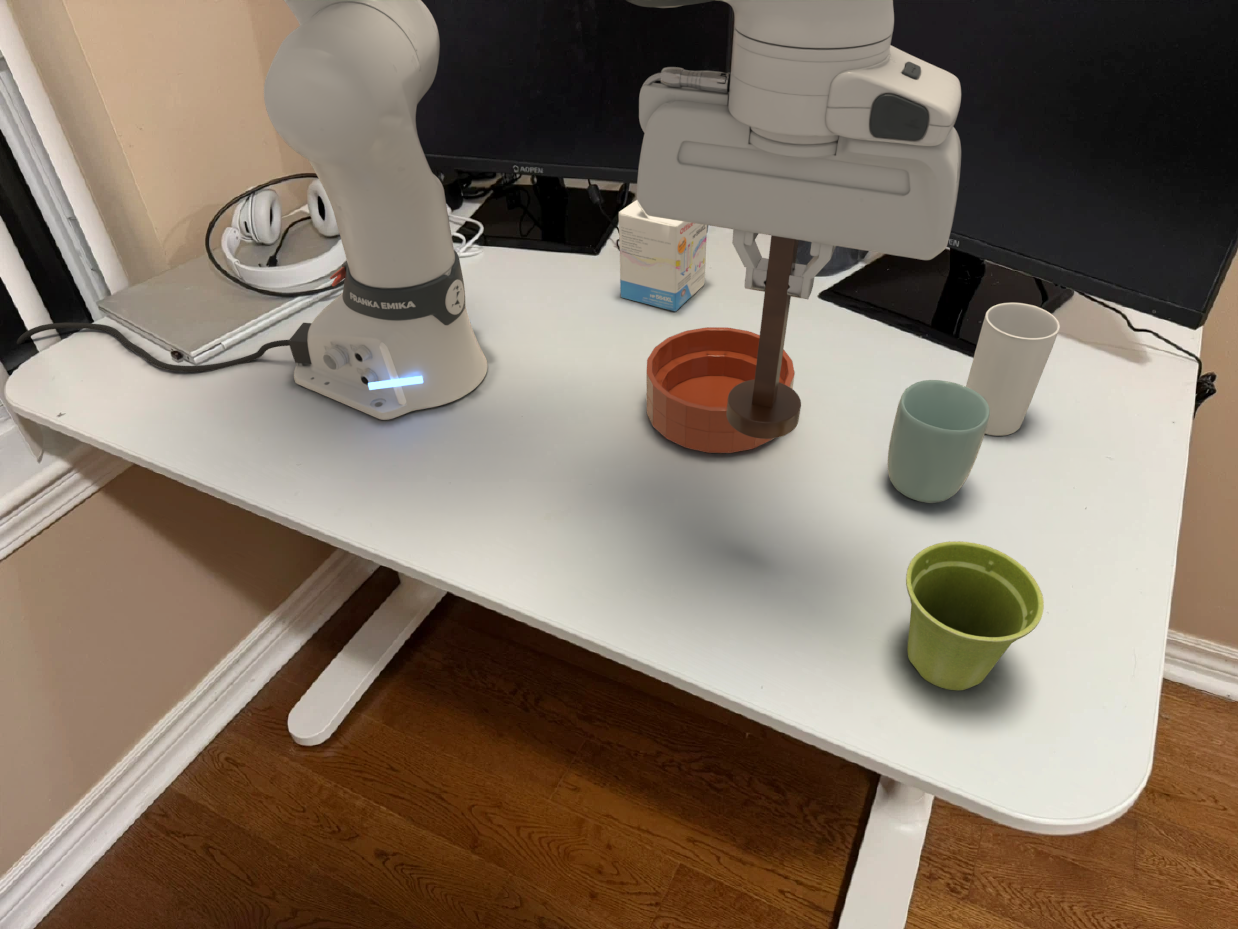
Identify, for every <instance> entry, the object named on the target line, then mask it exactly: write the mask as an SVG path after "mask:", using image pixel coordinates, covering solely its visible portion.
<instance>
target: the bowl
mask: <svg viewBox="0 0 1238 929" xmlns="http://www.w3.org/2000/svg"><path fill="white" fill-rule="evenodd" d="M759 337H760V334H758V333H755V332H753V331H749V330H743V329H740V328H739V329H738V328H733V327H726V326H725V327H717V326H716V327H715V326H713V327H711V326H709V327H707V326H706V327H699V328H694V329H690V330H684V331H681V332H679V333H676V334H674V335H671V336H669V337H667V338H666V339H664V340H663V341H661V342H660V343H659V344H657V345H655V347H653V349H652V351H651V353H650V354H649V356H648V357H647V358H646V372H645V373H646V374H645V375H646V377H645V378H646V382H645V383H646V415H647V417H648V419H649V421H650V423H651V425H652V427H653V428H654V429H655V430H656V431H657V432H658V433H660V434H661V436H663V437H664V438H665V439H666V440H669V441H671V442H673V443H675V444H677V445H679V446H681V447H683V448H686V449H689V450H693V451H699V452H703V453H708V454H709V453H714V454H725V453H726V454H732V453H733V454H734V453H739V452H744V451H748V450H749V451H750V450H753V449H756V448H758V447H760V446H762V445H764V444H766V443H769V442H772V441H773V440H774V439H775V438H772V439H761V438H754V437H750V436H747V435H744V434H742V433H740V432H739V431H737V430H736V429H734V428H733V427H732V426H731V425H730V423H729V421H728V419H727V416H726V412H727V401H728V395H729V393H730V391H731V390H732V389H733V388H734V387H735V386H736V385H738V384H740V383H742V382H745V381H749V380H755V371H756V363H757V354H758V346H759ZM795 375H796V374H795V367H794V362H793V359H792V358H791V357H790V356H789V354H788V353H787V351H786V350H785V349H783V356H782V363H781V370H780V377H779V382H780V383H782V384H785V385H787V386H788V387H790V388H791V389H793V388H794V381H795ZM793 390H794V389H793Z"/></svg>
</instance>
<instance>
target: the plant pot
mask: <svg viewBox="0 0 1238 929" xmlns="http://www.w3.org/2000/svg"><path fill="white" fill-rule="evenodd" d="M1033 576H1034V575H1032V574H1031V573H1030V571H1028V570H1027V569H1026V568H1025V566H1024V565H1022V564H1021V563H1020V562H1019V561H1017V560H1016V559H1014V558H1013V557H1011V556H1010V555H1008V554H1006V553H1004V552H1003V551H1000V550H998V549H995V548H993V547H991V546H988V545H985V544H981V543H975V542H970V541H961V540H958V541H957V540H955V541H942V542H938V543H935V544H931V545H929V546H926V547H925V548H924V549H922V550H921V551H919V552H918V553H916V555H915V556H913V557H912V558H911V560H910V561H909V564H908V566H907V568H906V575H905V585H906V590H907V594H908V597H909V600H910V614H909V615H910V616H909V628H908V636H907V637H908V638H907V647H906V648H907V658H908V660H909V662H910V663H911V664H912V666H913V667H914V668H915V669H916V671H917V672H918V674H919V675H920V676H921V677H922V678H923V679H924V680H925V681H926V682H928V683H930V684H932V685H934V686H936V687H938V688H941V689H944V690H950V691H965V690H968V689H970V688H972V687H975V686H977V685H979V684H981V683H982V682H983V681H984V680H985V679H986V677H987V676H988V675H989V674H990V672H991V671H992V670H993V668H995V666H996V664H997V663H998V662H999V661H1000V660H1001V658H1002V657H1003V655H1004V654H1005V652H1006V651H1007V650H1008V649H1009V648H1010V647H1011V645H1012V644H1013V643H1015V642H1016V641H1018V640H1020V639H1022V638H1025V637H1026V636H1028V635H1029V634H1031V633H1032V632H1033V631H1034V630H1035V629H1036V628H1037V626H1038V625H1039V624H1040V622H1041V620H1042V617H1043V614H1044V609H1045V601H1044V596H1043V593H1042V589H1041V588H1040V585H1039V584H1038V582H1037V580H1036V579H1035V578H1034V577H1033Z"/></svg>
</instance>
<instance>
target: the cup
mask: <svg viewBox="0 0 1238 929" xmlns="http://www.w3.org/2000/svg"><path fill="white" fill-rule="evenodd" d="M989 417H990V408H989V406H988V403H987V401H986V400H985V399H984V398H983V397H982V396H981V395H980V394H979V393H977V392H976V391H974V390H972V389H970V388H968V387H966V385H962V384H960V383H956V382H952V381H947V380H941V379H940V380H939V379H926V380H920V381H916V382H914V383H913V384H910V385H909V386H908V387H906V389H905V390H904V391H903V392H902V394H901V396H900V399H899V400H898V404H897V408H896V412H895V416H894V420H893V423H892V429H891V434H890V438H889V443H888V449H887V450H888V451H887V464H886V465H887V473H888V477H889V480H890V482H891V485H892V486H893V487H894V488H895V489H896V490H897V491H898V493H900V494H901V495H903V496H904V497H906V498H908V499H910V500H914V501H916V502H920V503H927V504H936V503H941V502H944V501H947V500H949V499H951V498H952V497H953V496H955V495H956V494H957V493H958V492H959V491H960V490H961V489H962V487H963V486H964V484H965V483H966V481H967V479H968V477H969V476H970V474H971V472H972V470H973V467H974V465H975V463H976V460H977V457H978V454H979V453H980V449H981V447H982V444H983V441H984V438H985V435H986V434H985V432H986V428H987V425H988V421H989Z"/></svg>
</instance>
